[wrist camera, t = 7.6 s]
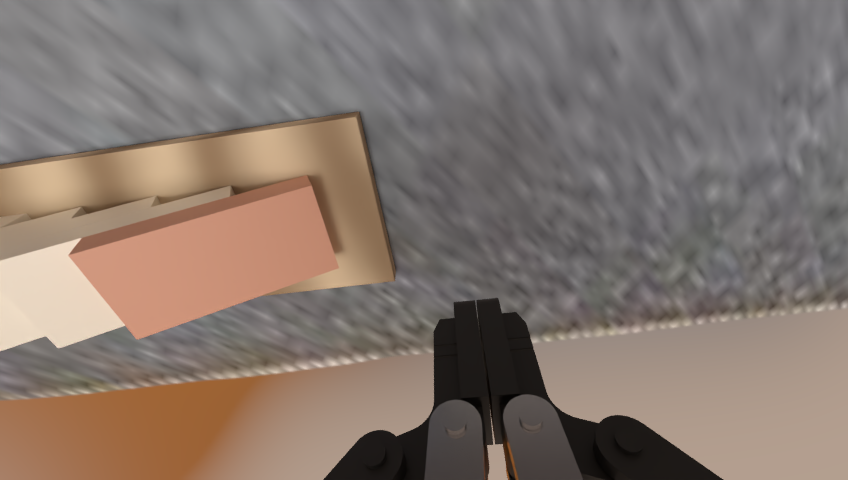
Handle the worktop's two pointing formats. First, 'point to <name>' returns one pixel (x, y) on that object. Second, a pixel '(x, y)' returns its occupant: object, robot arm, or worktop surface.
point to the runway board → (227, 183)
